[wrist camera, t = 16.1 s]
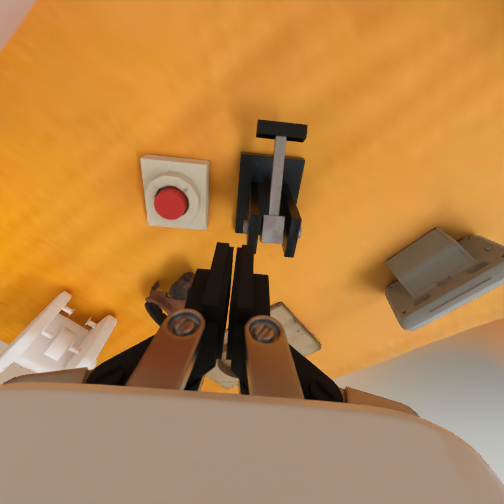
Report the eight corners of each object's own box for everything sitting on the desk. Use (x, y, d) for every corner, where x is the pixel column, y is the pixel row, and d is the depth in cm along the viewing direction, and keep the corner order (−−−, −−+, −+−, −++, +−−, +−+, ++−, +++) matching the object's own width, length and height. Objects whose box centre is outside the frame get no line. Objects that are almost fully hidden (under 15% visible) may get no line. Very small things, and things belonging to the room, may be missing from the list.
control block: (146, 154, 33) (134, 161, 30) (209, 160, 34) (204, 168, 30) (153, 218, 38) (143, 231, 35) (208, 223, 38) (204, 236, 35)
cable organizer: (71, 280, 44) (19, 336, 34) (125, 315, 48) (92, 373, 38) (30, 322, 49) (-26, 381, 39) (81, 350, 53) (43, 409, 44)
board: (226, 388, 61) (225, 402, 58) (179, 354, 54) (175, 368, 52) (322, 345, 53) (326, 359, 50) (279, 299, 46) (281, 313, 44)
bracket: (241, 151, 33) (236, 179, 23) (303, 158, 34) (325, 187, 24) (235, 229, 39) (229, 277, 29) (288, 233, 39) (301, 283, 29)
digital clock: (382, 297, 46) (413, 348, 37) (362, 262, 42) (392, 310, 33) (482, 253, 41) (547, 299, 32) (470, 209, 37) (540, 247, 28)
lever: (256, 126, 28) (258, 116, 25) (303, 131, 28) (309, 122, 26) (246, 239, 29) (247, 241, 27) (291, 243, 29) (296, 245, 27)
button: (156, 185, 32) (152, 190, 30) (186, 188, 32) (183, 193, 30) (159, 212, 34) (155, 218, 32) (187, 215, 34) (184, 221, 32)
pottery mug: (212, 311, 48) (182, 346, 43) (173, 283, 50) (139, 313, 45) (225, 273, 40) (189, 310, 34) (177, 240, 42) (135, 270, 36)
